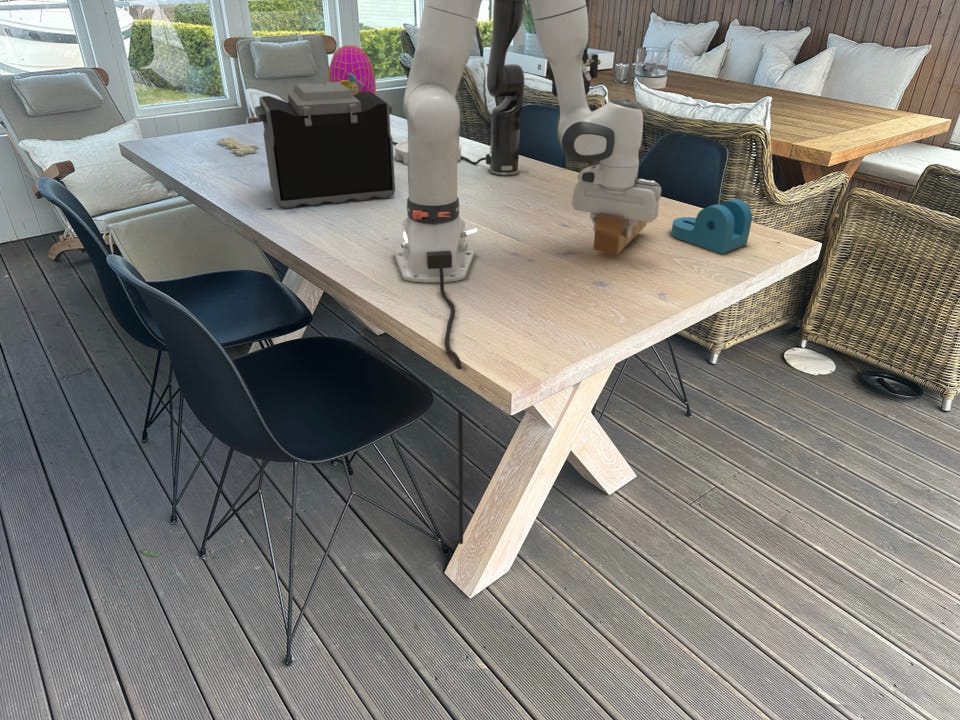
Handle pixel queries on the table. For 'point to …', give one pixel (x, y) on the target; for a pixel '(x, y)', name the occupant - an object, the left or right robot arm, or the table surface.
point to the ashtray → (402, 152)
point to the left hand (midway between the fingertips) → (611, 233)
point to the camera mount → (716, 226)
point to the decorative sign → (237, 146)
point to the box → (613, 232)
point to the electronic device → (327, 145)
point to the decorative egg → (352, 67)
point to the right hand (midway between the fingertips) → (570, 95)
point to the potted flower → (352, 84)
